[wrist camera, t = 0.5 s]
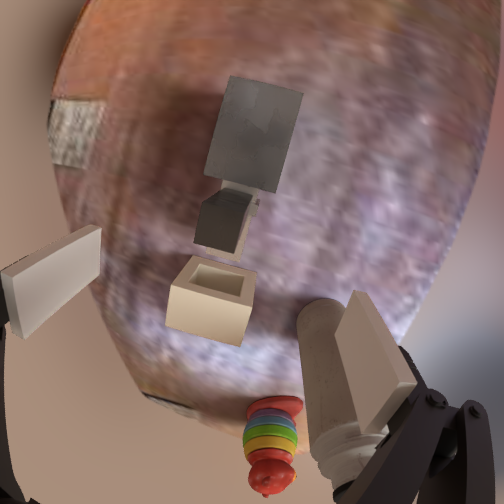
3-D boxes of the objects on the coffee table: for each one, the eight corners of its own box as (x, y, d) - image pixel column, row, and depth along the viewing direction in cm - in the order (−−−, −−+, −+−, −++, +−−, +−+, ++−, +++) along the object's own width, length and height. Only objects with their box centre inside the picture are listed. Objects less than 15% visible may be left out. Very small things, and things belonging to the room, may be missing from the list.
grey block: (240, 96, 33) (230, 75, 23) (295, 109, 33) (303, 93, 24) (220, 170, 36) (203, 174, 27) (274, 184, 36) (275, 193, 27)
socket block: (193, 255, 40) (170, 284, 30) (256, 272, 40) (252, 307, 31) (186, 289, 41) (164, 325, 32) (246, 306, 42) (240, 347, 32)
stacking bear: (293, 430, 50) (295, 504, 33) (243, 426, 51) (234, 501, 34) (305, 396, 47) (313, 479, 30) (248, 391, 47) (239, 476, 30)
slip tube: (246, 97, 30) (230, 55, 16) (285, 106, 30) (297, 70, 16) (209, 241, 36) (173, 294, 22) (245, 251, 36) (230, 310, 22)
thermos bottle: (344, 342, 43) (392, 502, 16) (294, 344, 43) (308, 516, 17) (351, 297, 40) (426, 463, 14) (297, 298, 41) (322, 483, 14)
